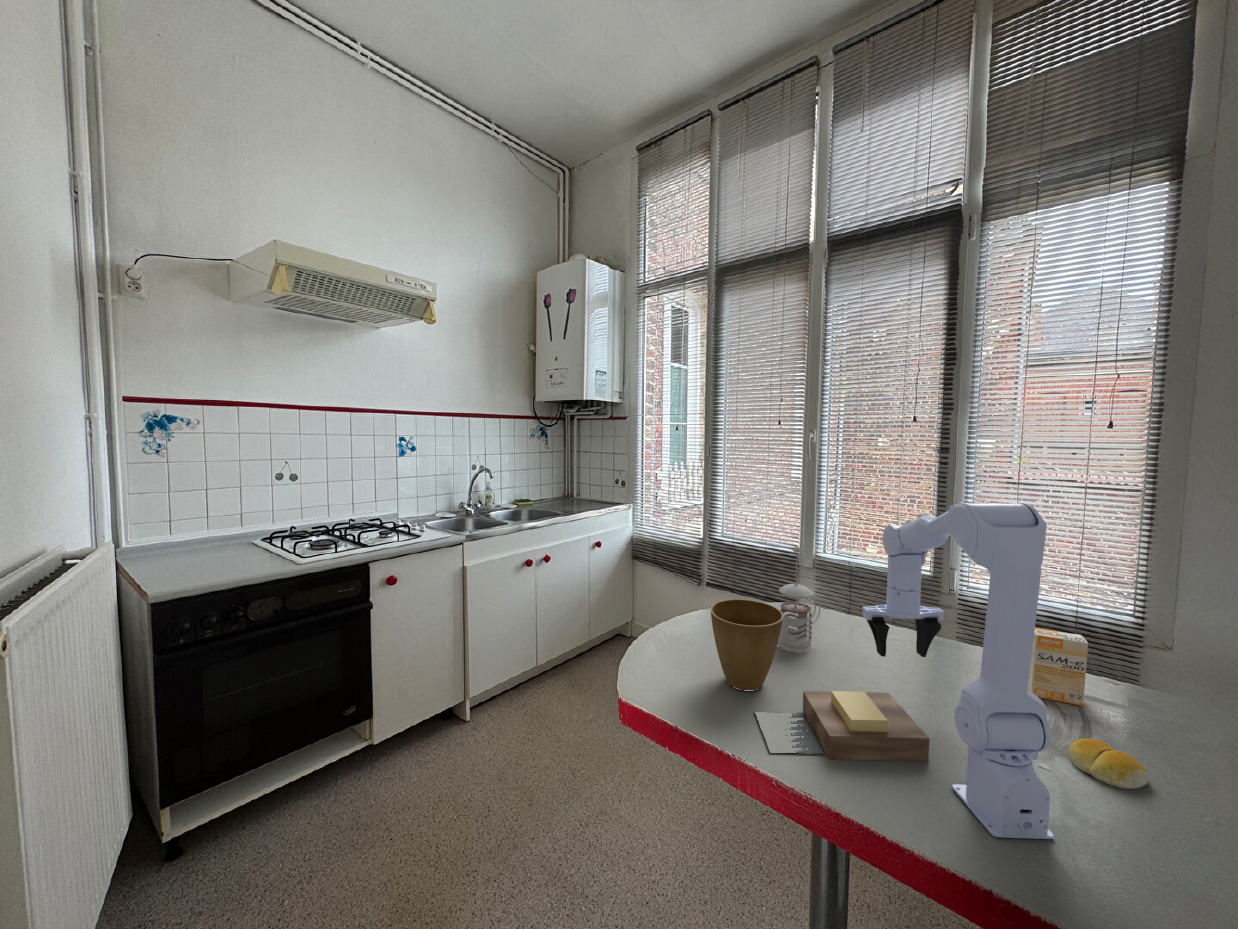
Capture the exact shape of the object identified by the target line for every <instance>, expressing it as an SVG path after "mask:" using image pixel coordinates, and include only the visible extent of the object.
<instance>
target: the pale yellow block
mask: <svg viewBox="0 0 1238 929" xmlns="http://www.w3.org/2000/svg"><path fill="white" fill-rule="evenodd" d="M830 692H831V702H832V704H833V705H834V707H835V708H836V710H837V711H838V713H839V714H840V716H841V717H842V719H843V720H844V722H845V723H846V725H847V726H848V728H849V729H850V731H874V732H887V731H888V720H887V719H886V717H885V716H884V715H883V714H882V713H881V711H880V710H879V709H878V708H877V706H876V705H875V704H874V703H873V702H872V700H871V699H870V698H869V697H868V695H867V694H866V693H865V692H866V691H850V690H849V691H848V690H847V691H846V690H845V691H844V690H842V691H840V690H837V691H835V690H830Z"/></svg>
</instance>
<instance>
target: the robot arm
mask: <svg viewBox="0 0 1238 929" xmlns="http://www.w3.org/2000/svg"><path fill="white" fill-rule="evenodd" d="M916 517H917V518H916V519H914V520H906V521H904V524H902V525H894V524H888V525H887V526H886V527H885V528H884V530H883V532H882V546H883V549H884V551H885V552H886V554H887V572H886V573H887V577H886V578H887V579H886V580H887V582H886V584H887V585H886V604H879V605H872V606H862V617H863V618H864V619H865V620H866V622H867V624H868V626H869V628H870V630H871V632H872V636H873V639H874V643H875V648H876V652H877V654H879V656H880V657H883V658H884V657H886V655H887V639H888V635H889V631H890V629H891V628H890V626H889V625H888V624H887V623H886V619H887V620H914V621H915V630H916V642H915V644H916V645H915V647H916V653H917V654H918V655H919V656H920V657H921V658H926V657H927V654H928V651H929V648H930V647H931V644H932V642H933V640H934V638H935V637H936V635H937V634H938V633H939V632H940V631H941V629H942V624H941V623H940V621H941V622H943V621H944V620H945V619H944V617H945V612H944V610H943V609H942V608H939V607H932V606H931V607H929V606H921V594H922V591H921V589H922V588H921V587H922V570H923V569H922V568H923V566H924V565H925V564H926V557H927V555H928V553H929V551H930V550H934V549H937V548H939V547H942V546H944V545H945V543H947V541H948V538H949V537H952V538H953V539H954V541H955V542H956V543H957V545H958V546H959V547H960V548H961V549H962V550H963V552H964V553H965V554H966V555H967V556H968V557H969V558H970V559H971V560H972V562H973V563H974V564H975V565H978V566H979V567H983V568H985V569H986V570H987V571H988V573H989V585H988V594H987V602H986V603H987V605H986V613H985V614H986V615H985V624H984V632H983V633H984V634H983V645H982V646H983V647H982V656H981V665H980V673H979V674H980V676H979V677H978V678H977V679H974V681H972V682H970V683H969V684H968V685H966V686H965V687H964V688H962V689H961V695H960V699H959V702H958V703H957V705H956V706H955V710H954V714H953V715H954V717H953V718H954V724H955V727H956V730H957V733H958V735H959V738H961V740H962V741H963V743H965V744H966V746H967V747H968V748H967V764H966V784H957V783H954V784H952V785H951V786H952V787H951V788H952V790H953V791H954V792H955V794H957V796H958V797H959V798H960V799H961V800H962V802H963V803H964V804H965V805H966V806H967V807H968V809H969V810H970V811H971V812H972V814H973V815H974V816H975V817H976V818H977V819H978V821H979V822H980V823H981V824H982V825H983V827H984V828H985V829H986V830H987V831H988V833H990V835H991V836H993V837H994V838H1002V839H1003V838H1007V839H1008V838H1010V839H1011V838H1012V839H1034V840H1035V839H1036V840H1038V839H1039V840H1040V839H1042V840H1044V839H1045V840H1054V839H1055V835H1054V833H1053V832H1052V830H1051V831H1050V829H1049V817H1050V801H1051V796H1050V793H1049V789H1048V787H1047V786H1046V785H1045V783H1044V782H1043V781H1042V780H1041V779H1040V777H1039V776H1038V774H1037V772H1036V771H1035V768H1034V764H1033V761H1037V760H1038V758H1039V752H1045V751H1047V749H1048V748H1049V746H1050V742H1051V731H1050V730H1051V729H1050V727H1049V723H1048V707H1047V706H1046V704H1045V703H1044V702H1043V701H1042V700H1041V698H1039V697H1037V696H1036V695H1035V694H1033V693H1032V692H1031V691H1029V690H1028V683H1029V675H1030V666H1031V657H1032V648H1033V640H1034V631H1035V628H1036V623H1037V622H1036V620H1037V613H1038V611H1037V610H1038V603H1039V594H1040V588H1041V587H1040V586H1041V577H1042V564H1043V563H1044V562H1043V560H1044V553H1045V545H1046V534H1047V526H1048V524H1047V523H1046V521H1045V520H1044V518H1043V517H1042V516H1041V515H1040V513H1039V512H1038V510H1037V509H1036V508H1035V506H1033V504H1030V503H1028V502H1024V501H1023V502H1020V501H1019V502H1015V503H969V502H958V503H957V504H953V505H952V504H951V505H949V507H948V510H947V511H946V512H943V513H942V514H940V515H938V516H934V515H929V513H919V514H917V515H916Z"/></svg>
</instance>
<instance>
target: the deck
mask: <svg viewBox="0 0 1238 929" xmlns="http://www.w3.org/2000/svg"><path fill="white" fill-rule="evenodd" d="M864 692H865V693H866V694H867V695H868V697H869V698H870V699H871V700H872V702H873V703H874V704H875V705H876V706H877V708H878V709H879V710H880V711H881V713H882V714H883V715H884V716H885V717H886V719H887V720H888V731H887V732H874V731H850V729H849V728H848V726H847V725H846V723H845V722H844V720H843V719H842V717H841V716H840V714H839V713H838V711H837V710H836V708H835V707H834V705H833V704H832V702H831V691H823V690H822V691H821V690H820V691H819V690H817V691H812V690H803V691H802V712H803V711H804V712H803V714H804V713H805V714H804V715H806V716H805V717H807V718H808V720H809V721H808V720H807V721H808V723H809V722H810V723H809V725H810V724H811V725H810V727H811V726H812V727H811V729H812V728H813V729H812V731H813V732H814V731H815V732H814V734H815V733H816V734H815V736H816V735H817V736H816V737H818V738H817V739H819V740H818V742H819V743H820V742H821V743H820V745H821V744H822V745H821V747H822V746H823V747H822V749H823V748H824V749H825V751H826V752H825V751H824V752H825V754H826V753H827V754H826V756H827V755H828V756H827V757H829V758H828V760H852V761H853V760H855V761H856V760H857V761H858V760H859V761H861V760H862V761H898V762H899V761H900V762H901V761H902V762H930V761H929V760H930V759H929V757H930V737H929V736H928V735H927V734H926V733H925V731H924V730H923V729H922V728H921V727H920V726H919V725H918V724H917V723H916V721H915V720H914V719H913V718H912V717H911V716H910V715H909V714H908V713H907V711H906V710H905V709H904V708H903V707H902V706H901V705H900V704H899V703H898V702H897V701H896V699H895V698H894V697H893V696H892V695H891V694H890V693H889V692H879V691H877V692H874V691H873V692H872V691H871V692H869V691H868V692H866V691H864ZM807 718H806V719H807ZM824 749H823V750H824ZM830 758H831V759H830ZM832 758H833V759H832Z"/></svg>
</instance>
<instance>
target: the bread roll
mask: <svg viewBox="0 0 1238 929" xmlns="http://www.w3.org/2000/svg"><path fill="white" fill-rule="evenodd" d="M1068 756H1069V759H1070V761H1071V762H1072V764H1073V765H1074V766H1075V767H1077V768H1078V769H1079V770H1080V771H1082V772H1084V773H1086V774H1090V775H1091V776H1092V777H1093V778H1095V779H1096V780H1097V781H1100V782H1102V783H1105V784H1108V785H1109V786H1113V787H1115V788H1116V787H1117V788H1120V789H1123V790H1124V789H1125V790H1132V789H1140V788H1142V787H1144V786H1146V785H1147V784H1148V782H1149V781H1150V780H1149V779H1150V778H1149V775H1148V773H1147V770H1146V768H1145V767H1144V766H1143V765H1142V764H1141V763H1140V762H1139V760H1137V759H1136V758H1135V757H1133V756H1132V755H1130V754H1129V753H1127V752H1124V751H1120V750H1116V749H1114V748H1113V747H1112V746H1110V745H1109V744H1108V743H1106V742H1104V741H1101V740H1098V739H1094V738H1087V737H1086V738H1078V739H1076V740H1073V741H1072V742H1071V743H1070V745H1069V747H1068Z"/></svg>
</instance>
